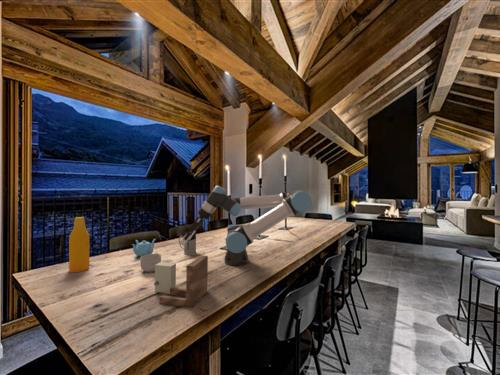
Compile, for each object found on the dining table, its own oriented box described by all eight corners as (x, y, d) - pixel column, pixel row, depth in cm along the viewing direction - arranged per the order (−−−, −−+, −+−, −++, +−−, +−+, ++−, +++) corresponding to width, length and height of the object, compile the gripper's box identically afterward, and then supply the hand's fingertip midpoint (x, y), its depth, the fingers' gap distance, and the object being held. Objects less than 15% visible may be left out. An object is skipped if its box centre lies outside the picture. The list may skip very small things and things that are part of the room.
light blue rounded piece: (152, 258, 151) (152, 242, 151) (129, 259, 148) (130, 243, 148) (155, 252, 164) (155, 238, 164) (135, 253, 161) (135, 238, 161)
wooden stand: (159, 303, 95) (159, 263, 94) (178, 287, 109) (178, 253, 109) (192, 307, 91) (192, 266, 91) (207, 291, 106) (207, 255, 105)
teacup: (153, 274, 124) (153, 259, 124) (135, 273, 126) (135, 258, 126) (167, 265, 138) (167, 252, 138) (151, 264, 140) (151, 251, 140)
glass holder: (199, 253, 164) (199, 231, 164) (183, 258, 152) (183, 235, 152) (190, 251, 169) (190, 230, 169) (174, 255, 157) (174, 233, 157)
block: (153, 292, 104) (153, 265, 104) (160, 287, 109) (160, 262, 108) (169, 294, 102) (169, 267, 102) (175, 289, 107) (175, 263, 107)
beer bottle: (91, 269, 131) (91, 217, 130) (70, 273, 124) (70, 219, 124) (87, 265, 137) (87, 215, 137) (67, 269, 130) (67, 217, 130)
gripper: (204, 204, 145) (184, 233, 144) (197, 208, 120) (172, 242, 119) (214, 211, 145) (194, 240, 144) (209, 216, 120) (185, 251, 119)
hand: (184, 241), depth 132 cm, fingers open, 13 cm apart
